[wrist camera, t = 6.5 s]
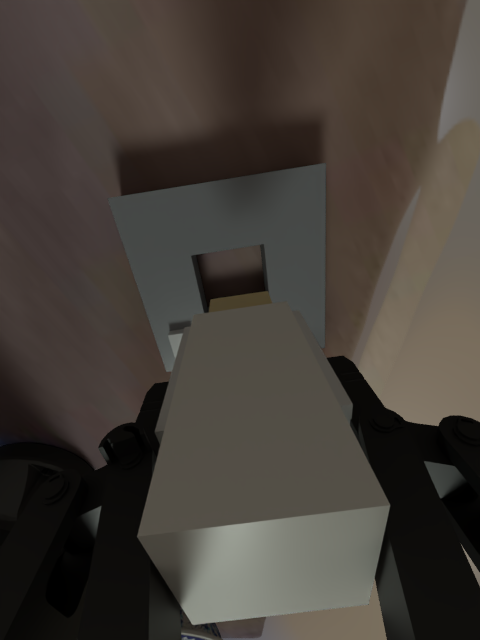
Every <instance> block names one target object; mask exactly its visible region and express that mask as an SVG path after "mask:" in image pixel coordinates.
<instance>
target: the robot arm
mask: <svg viewBox="0 0 480 640" xmlns="http://www.w3.org/2000/svg"><path fill="white" fill-rule="evenodd" d="M292 312H293V314H294V316H295V318H296V320H297V322H298V324H299V326H300V328H301V330H302V332H303V334H304V336H305V338H306V340H307V342H308V344H309V346H310V348H311V350H312V352H313V354H314V356H315V358H316V360H317V362H318V364H319V366H320V368H321V370H322V372H323V373H324V375H325V377H326V379H327V381H328V383H329V385H330V387H331V389H332V391H333V393H334V395H335V397H336V399H337V401H338V403H339V405H340V407H341V409H342V411H343V413H344V415H345V417H346V419H347V421H348V423H349V425H350V427H351V429H352V431H353V433H354V435H355V436H356V438H357V440H358V442H359V444H360V446H361V448H362V450H363V452H364V454H365V456H366V458H367V460H368V462H369V464H370V466H371V468H372V470H373V472H374V474H375V476H376V478H377V480H378V482H379V484H380V486H381V488H382V490H383V492H384V494H385V496H386V497H387V499H388V501H389V503H390V509H389V514H388V518H387V523H386V527H385V532H384V536H383V541H382V546H381V550H380V555H379V559H378V564H377V568H376V573H375V581H376V586H377V591H378V596H379V601H380V606H381V611H382V616H383V622H384V626H385V632H386V637H387V640H480V586H479V584H478V582H477V580H476V578H475V575H474V573H473V571H472V569H471V566H470V564H469V562H468V559H467V557H466V555H465V553H464V551H463V548H464V549H465V551H466V552H467V554H468V555H469V557H470V558H471V560H472V561H473V563H474V564H475V566H476V567H477V569H478V570H479V572H480V422H478V421H476V420H474V419H472V418H468V417H464V416H448V417H445V418H443V419H442V420H441V422H440V423H439V426H432V425H424V424H417V423H412V422H407V421H405V420H404V419H403V418H402V417H401V416H400V415H398V414H397V413H396V412H394V411H391V410H389V409H387V408H385V407H384V405H383V404H382V402H381V401H380V400H379V398H378V397H377V395H376V394H375V393H374V391H373V390H372V388H371V387H370V386H369V384H368V383H367V381H366V380H364V377H363V376H362V374H361V373H360V372H359V370H358V369H357V367H356V366H355V364H354V363H353V362H352V361H350V360H349V359H347V358H346V357H344V356H337V357H330V358H326V356H325V355H324V353H323V351H322V349H321V348H320V346H319V344H318V342H317V341H316V339H315V337H314V335H313V334H312V332H311V330H310V328H309V327H308V325H307V323H306V321H305V320H304V318H303V316H302V314H301V313H300V311H299V310H297V311H292ZM190 327H191V326H190ZM190 327H185V328H184V331H183V335H182V338H181V342H180V345H179V349H178V352H177V356H176V359H175V363H174V366H173V370H172V373H171V377H170V380H169V382H162V383H155V384H154V385H153V386H152V387H151V388H150V390H149V391H148V392H147V394H146V396H145V399H144V401H143V404H142V407H141V409H140V413H139V415H138V417H137V420H136V423H126V424H123V425H120V426H118V427H116V428H114V429H113V430H112V431H110V432H109V433H108V434H107V435H106V436H105V437H104V438H103V440H102V441H101V443H100V445H99V447H98V449H99V450H100V452H101V454H102V455H103V457H104V459H105V460H106V462H107V464H108V465H106V466H104V467H102V468H100V469H98V470H95V471H93V470H92V468H91V467H90V466H89V465H88V464H87V463H86V462H84V461H83V460H82V459H80V458H79V457H77V456H75V455H73V454H72V453H69V452H67V451H65V450H62V449H59V448H56V447H52V446H48V445H43V444H35V443H17V444H10V445H5V446H2V447H0V640H182V637H181V618H180V604H179V602H178V601H177V599H176V598H175V596H174V595H173V593H172V591H171V590H170V588H169V587H168V585H167V583H166V582H165V580H164V579H163V577H162V575H161V574H160V572H159V571H158V569H157V568H156V566H155V564H154V563H153V561H152V560H151V558H150V556H149V555H148V553H147V552H146V550H145V549H144V547H143V545H142V544H141V542H140V541H139V539H138V537H137V535H138V531H139V527H140V523H141V519H142V515H143V511H144V508H145V504H146V500H147V496H148V492H149V488H150V484H151V480H152V476H153V472H154V468H155V464H156V460H157V457H158V453H159V449H160V445H161V441H162V437H163V433H164V429H165V425H166V421H167V417H168V413H169V409H170V406H171V402H172V398H173V394H174V390H175V386H176V382H177V378H178V374H179V370H180V366H181V362H182V358H183V355H184V351H185V347H186V343H187V339H188V335H189V331H190ZM460 543H461V544H460ZM461 545H462V546H463V548H462V546H461Z"/></svg>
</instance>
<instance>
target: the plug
mask: <svg viewBox="0 0 480 640" xmlns="http://www.w3.org/2000/svg"><path fill="white" fill-rule="evenodd" d="M389 509H390V503H389V501H388V499H387V497H386V496H385V494H384V492H383V490H382V488H381V486H380V484H379V482H378V480H377V478H376V476H375V474H374V472H373V470H372V468H371V466H370V464H369V462H368V460H367V458H366V456H365V454H364V452H363V450H362V448H361V446H360V444H359V442H358V440H357V438H356V436H355V435H354V433H353V431H352V429H351V427H350V425H349V423H348V421H347V419H346V417H345V415H344V413H343V411H342V409H341V407H340V405H339V403H338V401H337V399H336V397H335V395H334V393H333V391H332V389H331V387H330V385H329V383H328V381H327V379H326V377H325V375H324V373H323V372H322V370H321V368H320V366H319V364H318V362H317V360H316V358H315V356H314V354H313V352H312V350H311V348H310V346H309V344H308V342H307V340H306V338H305V336H304V334H303V332H302V330H301V328H300V326H299V324H298V322H297V320H296V318H295V316H294V314H293V312H292V310H291V309H290V307H289V305H288V303H287V301H285V302H278V303H272V301H271V298H270V296H269V293H268V291H264V292H257V293H250V294H243V295H237V296H230V297H223V298H216V299H211V300H210V307H209V313H202V314H195V315H193V319H192V323H191V327H190V331H189V335H188V339H187V343H186V347H185V351H184V355H183V358H182V362H181V366H180V370H179V374H178V378H177V382H176V386H175V390H174V394H173V398H172V402H171V406H170V409H169V413H168V417H167V421H166V425H165V429H164V433H163V437H162V441H161V445H160V449H159V453H158V457H157V460H156V464H155V468H154V472H153V476H152V480H151V484H150V488H149V492H148V496H147V500H146V504H145V508H144V511H143V515H142V519H141V523H140V527H139V531H138V535H137V537H138V539H139V541H140V542H141V544H142V545H143V547H144V549H145V550H146V552H147V553H148V555H149V556H150V558H151V560H152V561H153V563H154V564H155V566H156V568H157V569H158V571H159V572H160V574H161V575H162V577H163V579H164V580H165V582H166V583H167V585H168V587H169V588H170V590H171V591H172V593H173V595H174V596H175V598H176V599H177V601H178V602H179V604H180V606H181V607H182V609H183V610H184V612H185V614H186V615H187V617H188V618H189V620H190V621H191V623H192V625H196V624H205V623H214V622H222V621H231V620H240V619H248V618H257V617H266V616H274V615H283V614H291V613H300V612H309V611H318V610H326V609H335V608H344V607H352V606H361V605H369V600H370V596H371V591H372V587H373V582H374V578H375V573H376V568H377V564H378V559H379V555H380V550H381V546H382V541H383V536H384V532H385V527H386V523H387V518H388V514H389Z"/></svg>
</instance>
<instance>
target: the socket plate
mask: <svg viewBox="0 0 480 640" xmlns="http://www.w3.org/2000/svg"><path fill="white" fill-rule="evenodd" d="M107 199H108V201H109V204H110V207H111V210H112V213H113V216H114V219H115V222H116V225H117V228H118V231H119V234H120V237H121V240H122V243H123V245H124V248H125V251H126V254H127V257H128V260H129V263H130V266H131V269H132V272H133V275H134V278H135V281H136V284H137V287H138V289H139V292H140V295H141V298H142V301H143V304H144V307H145V310H146V313H147V316H148V319H149V322H150V325H151V328H152V331H153V334H154V336H155V339H156V342H157V345H158V348H159V351H160V354H161V357H162V360H163V363H164V366H165V369H166V372H169V371H172V370H173V366H174V363H175V359H176V356H177V352H178V349H179V345H180V342H181V338H182V335H183V331H184V328H185V327H190V326H191V323H192V319H193V315H195V314H202V313H209V307H207V303H206V298H205V294H204V289H203V285H202V280H201V276H200V271H199V267H198V262H197V258H196V255H198V254H204V253H211V252H217V251H223V250H229V249H236V248H242V247H248V246H255V245H260V247H261V257H262V266H263V275H264V285H265V291H268V293H269V296H270V298H271V301H272V303H278V302H285V301H287V303H288V305H289V307H290V309H291V310H292V311H297V310H299V311H300V313H301V314H302V316H303V318H304V320H305V321H306V323H307V325H308V327H309V328H310V330H311V332H312V334H313V335H314V337H315V339H316V341H317V342H318V344H319V346H320V348H325V233H326V163H322V164H316V165H310V166H304V167H298V168H291V169H285V170H279V171H273V172H267V173H261V174H254V175H248V176H242V177H236V178H230V179H224V180H217V181H211V182H205V183H199V184H193V185H187V186H180V187H174V188H168V189H162V190H156V191H150V192H143V193H137V194H131V195H125V196H119V197H113V198H107Z"/></svg>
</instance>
